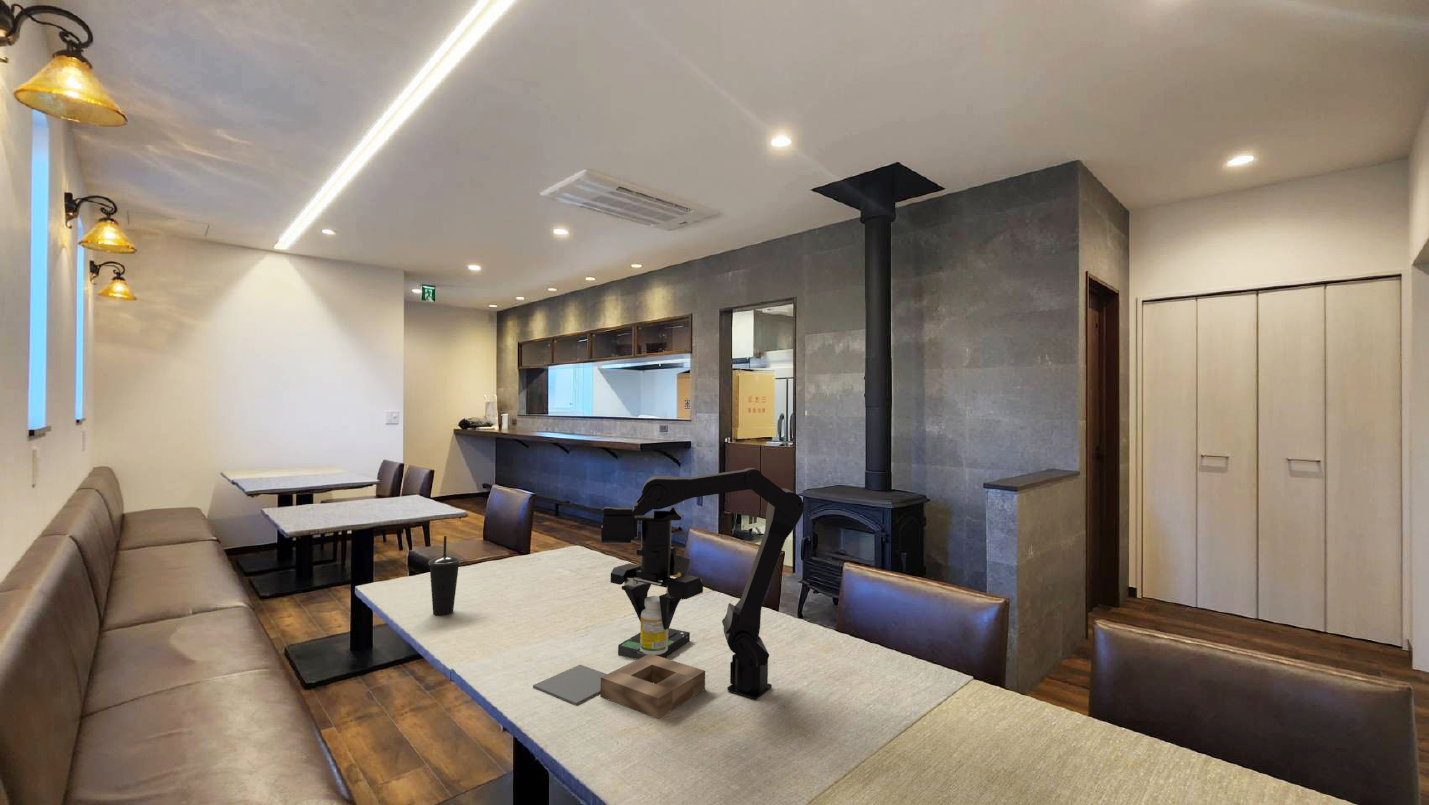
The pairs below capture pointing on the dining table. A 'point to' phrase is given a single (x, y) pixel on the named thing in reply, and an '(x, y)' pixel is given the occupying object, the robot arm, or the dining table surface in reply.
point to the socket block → (652, 685)
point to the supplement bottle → (653, 628)
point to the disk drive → (674, 643)
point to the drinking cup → (443, 582)
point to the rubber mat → (573, 684)
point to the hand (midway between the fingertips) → (654, 625)
